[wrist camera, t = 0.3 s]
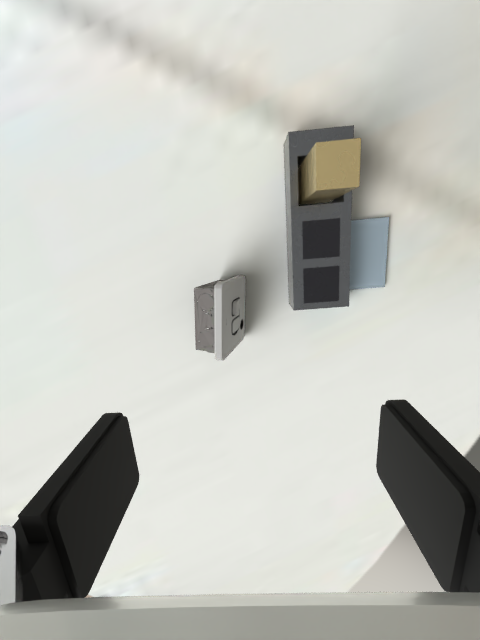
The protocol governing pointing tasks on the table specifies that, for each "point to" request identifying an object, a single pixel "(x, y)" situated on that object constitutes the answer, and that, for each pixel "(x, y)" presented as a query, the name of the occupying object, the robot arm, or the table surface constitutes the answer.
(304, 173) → the brass peg
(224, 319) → the electrical switch
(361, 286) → the rubber mat
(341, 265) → the rail
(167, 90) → the table surface
